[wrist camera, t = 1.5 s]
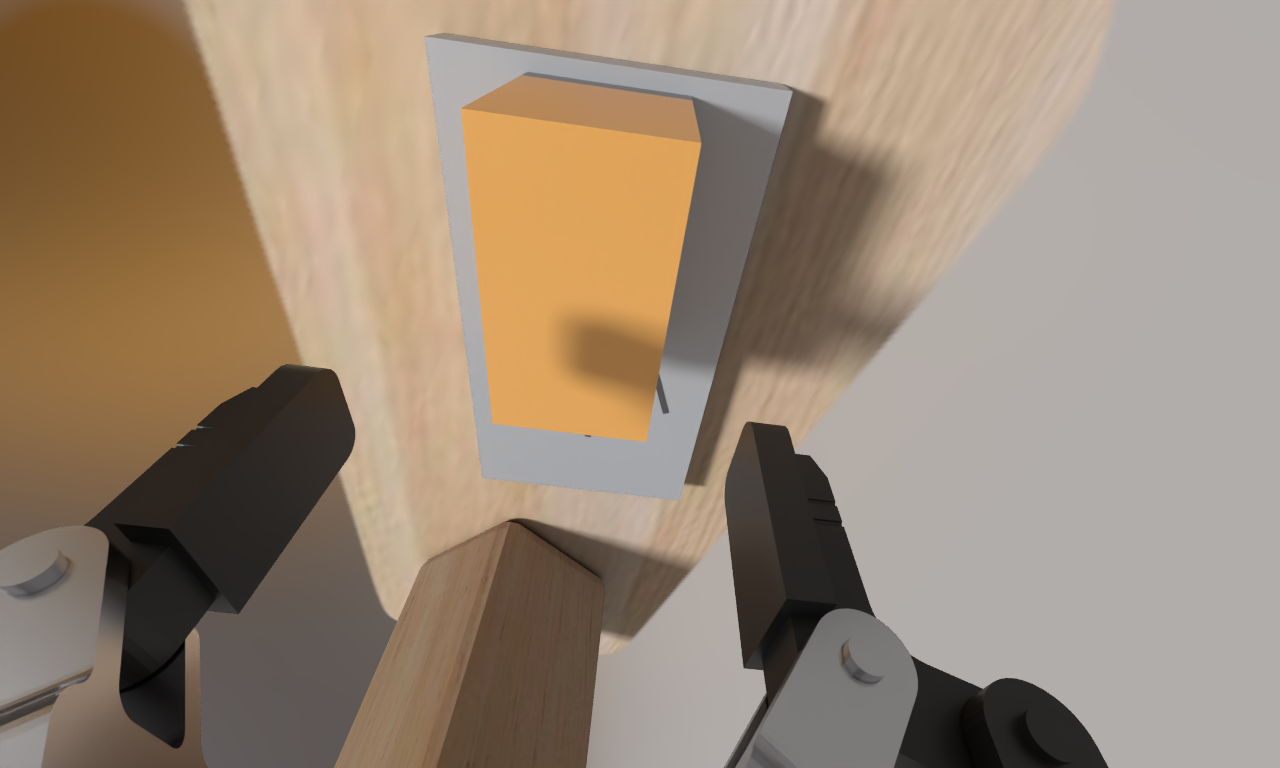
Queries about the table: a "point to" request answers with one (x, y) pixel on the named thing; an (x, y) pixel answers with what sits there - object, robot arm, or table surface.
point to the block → (486, 662)
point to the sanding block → (577, 246)
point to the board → (707, 275)
